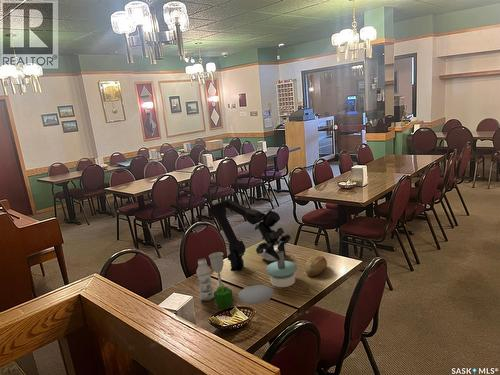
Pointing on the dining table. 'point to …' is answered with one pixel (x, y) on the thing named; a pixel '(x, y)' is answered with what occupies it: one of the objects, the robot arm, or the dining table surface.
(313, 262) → the bread roll
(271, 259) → the paper bowls
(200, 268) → the plastic bottle
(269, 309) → the dining table surface
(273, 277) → the bowl
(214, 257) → the chalice
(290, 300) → the dining table surface
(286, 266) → the lid
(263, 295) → the mat
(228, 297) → the bell pepper
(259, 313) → the dining table surface
